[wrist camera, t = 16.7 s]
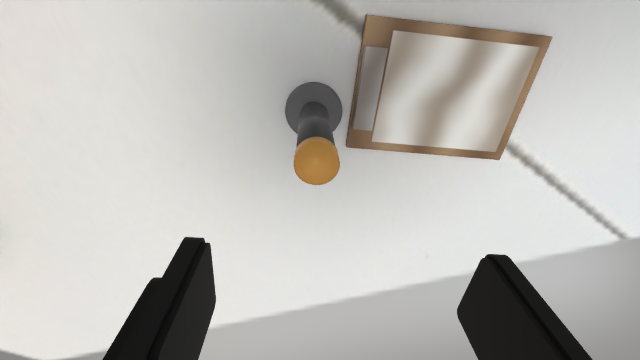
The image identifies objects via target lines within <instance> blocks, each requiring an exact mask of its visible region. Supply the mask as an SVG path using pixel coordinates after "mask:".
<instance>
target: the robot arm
mask: <svg viewBox="0 0 640 360" xmlns="http://www.w3.org/2000/svg"><path fill="white" fill-rule="evenodd" d="M215 303H216V295H215V285H214V275H213V265H212V256H211V246H210V243H205V240H204V238H193V237H185V238H184V239H183V241H182V243H181V244H180V246H179V248H178V250H177V251H176V253H175V255H174V257H173V259H172V260H171V262H170V264H169V266H168V268H167V269H166V271H165V273H164V275H163V277H162V278H153V279H152V280H150V282H149V283H148V284H147V286H146V288H145V289H144V291H143V293H142V294H141V296H140V298H139V299H138V301H137V303H136V304H135V306H134V308H133V309H132V311H131V313H130V315H129V316H128V318H127V320H126V321H125V323H124V325H123V326H122V328H121V330H120V331H119V333H118V335H117V336H116V338H115V340H114V341H113V343H112V345H111V346H110V348H109V350H108V351H107V353H106V355H105V357H104V358H103V360H198V358H199V355H200V352H201V349H202V346H203V342H204V339H205V336H206V333H207V330H208V327H209V324H210V321H211V318H212V315H213V311H214V308H215ZM457 315H458V319H459V321H460V323H461V325H462V327H463V329H464V331H465V333H466V335H467V337H468V339H469V341H470V343H471V346H472V348H473V349H474V351H475V354H476V356H477V358H478V360H592V358H591V357H590V356H589V355H588V354H587V352H586V351H585V350H584V349H583V347H582V346H581V345H580V344H579V342H578V341H577V340H576V339H575V338H574V336H573V335H572V334H571V333H570V331H569V330H568V329H567V328H566V326H565V325H564V324H563V323H562V322H561V320H560V319H559V318H558V317H557V316H556V314H555V313H554V312H553V311H552V309H551V308H550V307H549V306H548V305H547V303H546V302H545V301H544V299H543V298H542V297H541V296H540V295H539V293H538V292H537V291H536V290H535V289H534V287H533V286H532V285H531V284H530V282H529V281H528V280H527V279H526V277H525V276H524V275H523V274H522V272H521V271H520V270H519V269H518V268H517V266H516V265H515V264H514V263H513V261H512V260H511V259H510V258H509V257H508V256H506V255H496V254H488V255H486V256H485V258H483V259H481V261H480V263H479V265H478V267H477V269H476V271H475V273H474V275H473V277H472V279H471V281H470V284H469V286H468V288H467V290H466V292H465V294H464V296H463V298H462V300H461V302H460V304H459V306H458V309H457Z"/></svg>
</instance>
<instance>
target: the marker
mask: <svg viewBox="0 0 640 360" xmlns="http://www.w3.org/2000/svg"><path fill="white" fill-rule="evenodd" d="M339 167H340V161H339V157H338V152H337V149H336V147H335V144H334V139H333V134H332V129H331V124H330V119H329V114H328V111H327V109H326V107H325V106H324V105H322V104H321V103H318V102H310V103H307V104H306V105H304V106H303V107H302V109H301V111H300V115H299V126H298V137H297V148H296V151H295V156H294V170H295V172H296V174H297V176H298V177H299V178H300V179H301V180H302V181H304V182H306V183H308V184H312V185H321V184H325V183H327V182H329V181H331V180H332V179H333V178H334V177H335V176H336V175H337V173H338V171H339Z"/></svg>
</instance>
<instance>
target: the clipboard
mask: <svg viewBox="0 0 640 360" xmlns="http://www.w3.org/2000/svg"><path fill="white" fill-rule="evenodd" d="M551 40H552V37H550V36H542V35H533V34H525V33H517V32H508V31H500V30H491V29H483V28H474V27H466V26H458V25H449V24H441V23H432V22H424V21H415V20H407V19H399V18H390V17H382V16H373V15H366V18H365V24H364V31H363V37H362V44H361V50H360V57H359V63H358V70H357V76H356V82H355V89H354V95H353V102H352V108H351V115H350V121H349V128H348V134H347V141H346V147H349V148H361V149H373V150H385V151H397V152H410V153H422V154H434V155H446V156H458V157H470V158H482V159H494V160H500V158H501V155H502V153H503V151H504V149H505V146H506V144H507V142H508V139H509V137H510V135H511V132H512V130H513V128H514V125H515V123H516V121H517V118H518V116H519V114H520V111H521V109H522V107H523V104H524V102H525V100H526V98H527V95H528V93H529V91H530V88H531V86H532V84H533V81H534V79H535V77H536V74H537V72H538V70H539V67H540V65H541V63H542V60H543V58H544V56H545V53H546V51H547V49H548V47H549V44H550V42H551Z"/></svg>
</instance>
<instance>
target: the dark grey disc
mask: <svg viewBox="0 0 640 360" xmlns="http://www.w3.org/2000/svg"><path fill="white" fill-rule="evenodd" d="M310 102H318V103H321V104H322V105H324V106H325V107H326V109H327V111H328V114H329V119H330V124H331V129H332V132H333V131H334V130H335V129H336V128H337V126H338V124H339V122H340V120H341V116H342V106H341V102H340V99H339V97H338V95H337V94H336V93H335V92H334V90H332V89H331V88H330V87H328V86H327V85H325V84H322V83H317V82H310V83H305V84H303V85H301V86H299V87H297V88H296V89H295V90H294V91H293V92H292V93H291V94H290V96H289V98H288V100H287V103H286V109H285V114H286V119H287V121H288V124H289V125H290V127H291V128H292V129H293V130H294V131H295V132H296V133H297V134H298V126H299V115H300V111H301V109H302V107H303V106H304V105H306V104H307V103H310Z"/></svg>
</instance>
